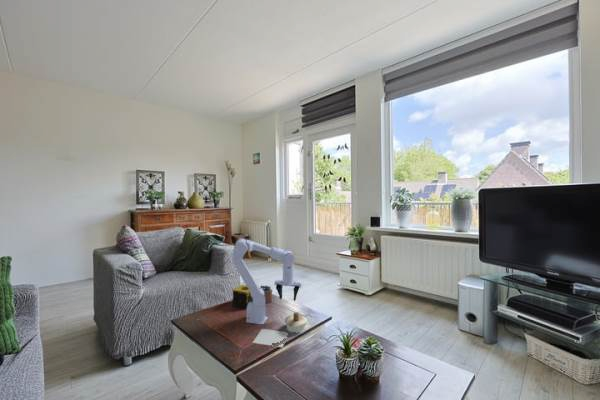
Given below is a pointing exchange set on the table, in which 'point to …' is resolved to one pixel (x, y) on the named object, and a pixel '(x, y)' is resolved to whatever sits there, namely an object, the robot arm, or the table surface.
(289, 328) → the bowl
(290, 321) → the lid
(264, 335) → the mat
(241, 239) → the robot arm
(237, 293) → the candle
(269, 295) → the lighter
